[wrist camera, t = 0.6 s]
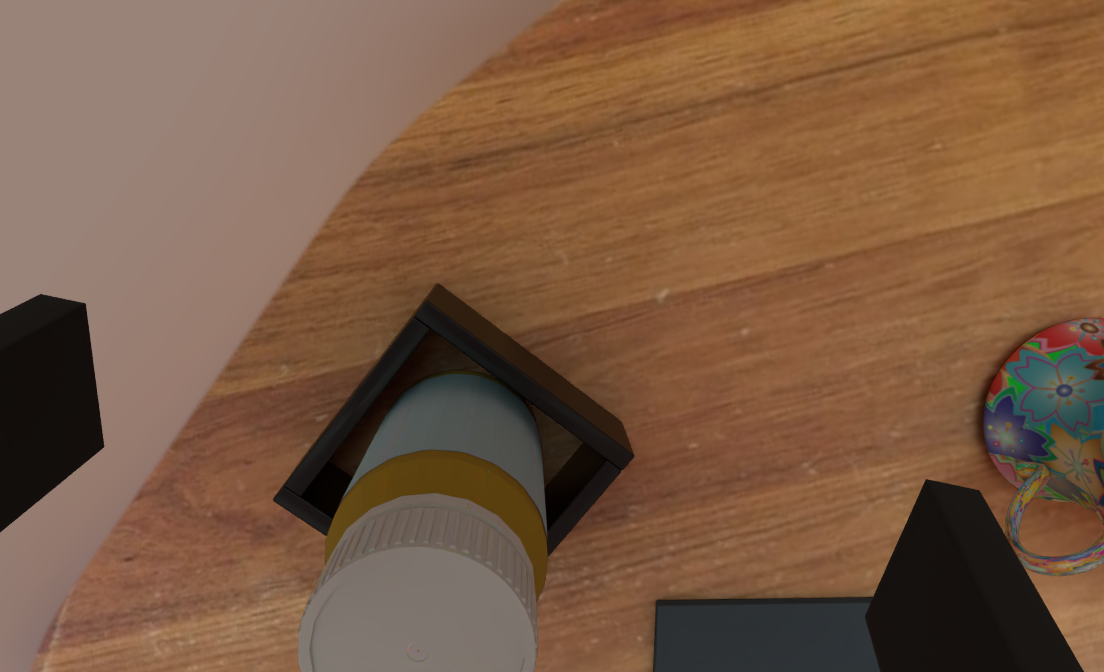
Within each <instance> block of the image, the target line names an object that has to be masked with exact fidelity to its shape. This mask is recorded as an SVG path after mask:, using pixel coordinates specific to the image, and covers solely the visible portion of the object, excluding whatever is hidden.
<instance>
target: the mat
mask: <svg viewBox="0 0 1104 672" xmlns="http://www.w3.org/2000/svg"><path fill="white" fill-rule="evenodd" d="M872 599H873V597H867V598H797V599H726V600H657V601H656V618H655V641H654V664H653V672H880V669H879V665H878V662H877V658H876V655H875V651H874V648H873V644H872V641H871V637H870V634H869V630H868V627H867V623H866V620H865V614H866V612H867V610H868V608H869V605H870V603H871V601H872Z"/></svg>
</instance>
